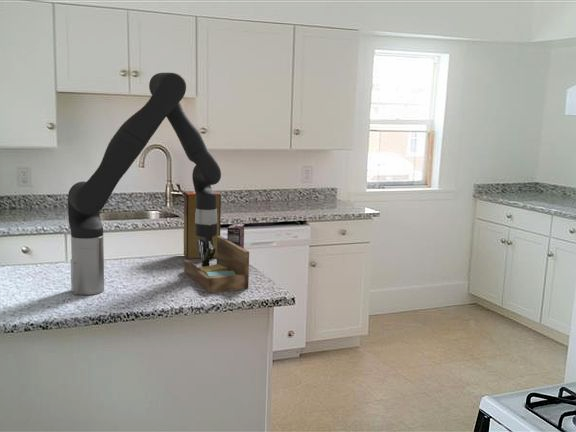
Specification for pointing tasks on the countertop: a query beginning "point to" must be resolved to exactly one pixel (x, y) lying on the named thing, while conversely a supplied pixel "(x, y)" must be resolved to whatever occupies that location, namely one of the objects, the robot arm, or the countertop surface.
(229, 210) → the countertop surface
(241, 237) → the supplement box
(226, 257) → the book rack
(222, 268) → the ochre book block
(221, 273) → the book block
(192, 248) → the food packaging
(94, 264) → the robot arm
